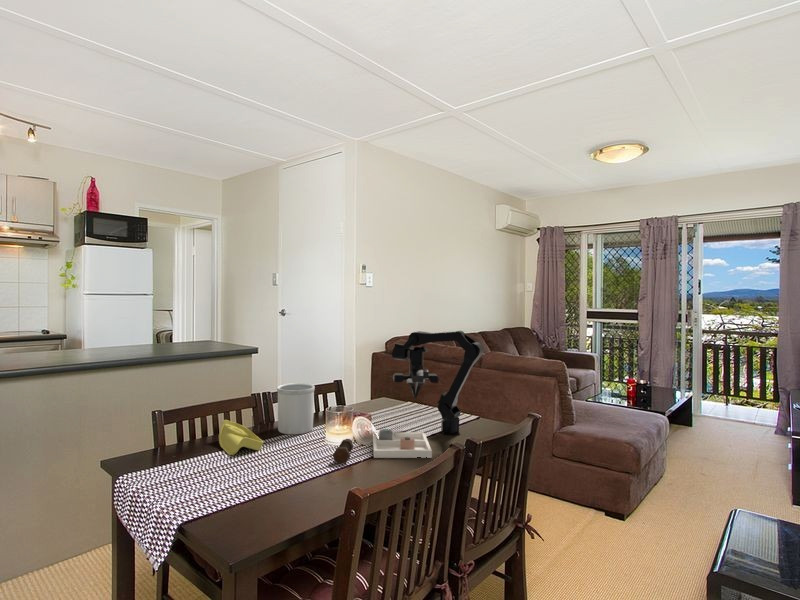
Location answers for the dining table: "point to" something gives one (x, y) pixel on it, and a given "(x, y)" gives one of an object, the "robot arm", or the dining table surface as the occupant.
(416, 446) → the white flat rectangular tray
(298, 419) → the utensil holder
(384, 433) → the grey cylinder
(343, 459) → the dark brown dumbbell
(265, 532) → the dining table surface
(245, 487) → the dining table surface
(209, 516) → the dining table surface
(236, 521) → the dining table surface
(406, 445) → the pink cube
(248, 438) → the plastic component
